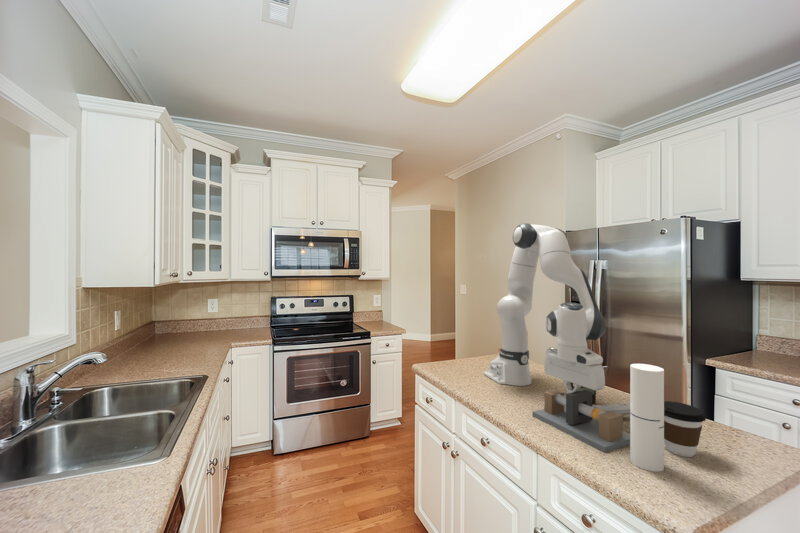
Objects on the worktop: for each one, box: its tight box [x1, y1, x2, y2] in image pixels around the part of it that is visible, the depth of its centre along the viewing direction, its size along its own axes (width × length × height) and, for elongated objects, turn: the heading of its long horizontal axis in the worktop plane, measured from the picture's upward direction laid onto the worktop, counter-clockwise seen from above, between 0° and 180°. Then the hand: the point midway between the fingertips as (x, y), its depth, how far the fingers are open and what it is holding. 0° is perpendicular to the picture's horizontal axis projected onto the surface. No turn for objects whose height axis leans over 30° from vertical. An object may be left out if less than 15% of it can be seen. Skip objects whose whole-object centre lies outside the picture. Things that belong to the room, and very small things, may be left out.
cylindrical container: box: [629, 363, 665, 473], centre depth 90 cm, size 7×7×25 cm
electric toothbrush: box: [592, 402, 630, 416], centre depth 117 cm, size 5×7×25 cm
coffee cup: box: [664, 400, 706, 458], centre depth 96 cm, size 11×11×12 cm
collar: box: [565, 390, 592, 425], centre depth 110 cm, size 2×9×9 cm, turn 115°
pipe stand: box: [532, 389, 630, 453], centre depth 110 cm, size 26×14×8 cm, turn 25°
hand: (572, 395), depth 112 cm, fingers closed
